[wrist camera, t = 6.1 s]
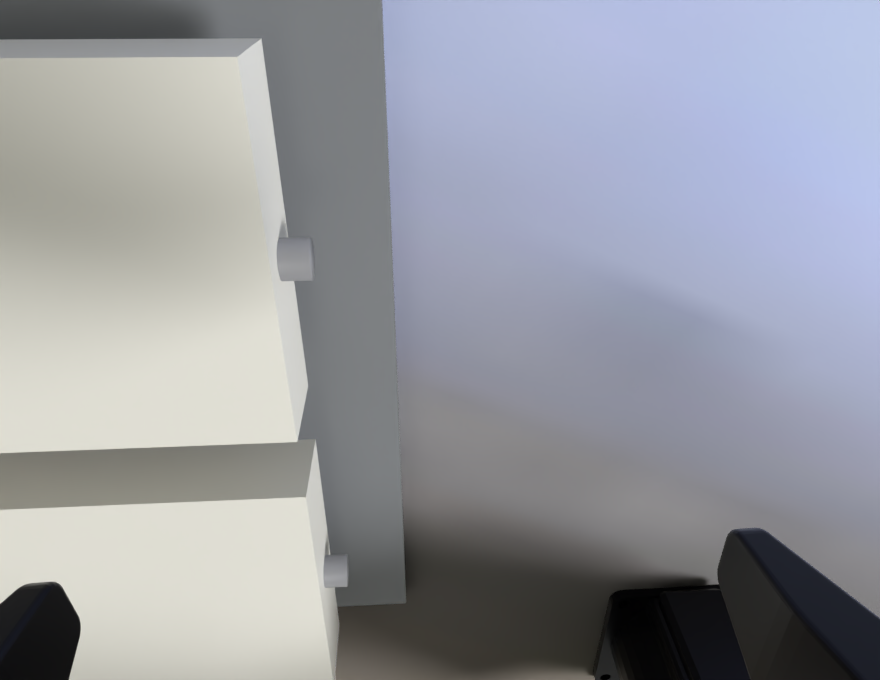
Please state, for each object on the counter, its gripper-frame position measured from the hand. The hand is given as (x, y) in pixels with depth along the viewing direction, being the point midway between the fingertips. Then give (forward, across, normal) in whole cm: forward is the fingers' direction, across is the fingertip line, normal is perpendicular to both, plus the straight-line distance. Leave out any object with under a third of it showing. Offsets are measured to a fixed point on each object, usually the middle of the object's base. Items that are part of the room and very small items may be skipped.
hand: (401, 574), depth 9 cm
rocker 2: (+8, +9, +10) cm, 15 cm away
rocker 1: (+8, +8, -1) cm, 11 cm away
